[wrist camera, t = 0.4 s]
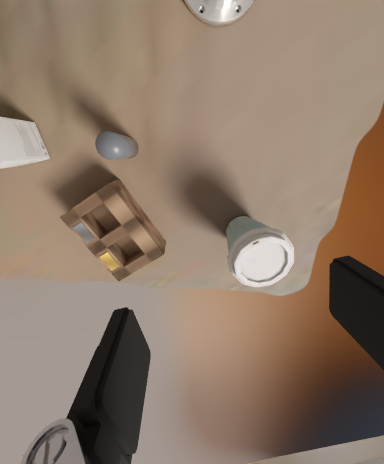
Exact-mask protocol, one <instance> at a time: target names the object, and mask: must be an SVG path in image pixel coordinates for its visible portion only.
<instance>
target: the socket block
mask: <svg viewBox="0 0 384 464" xmlns="http://www.w3.org/2000/svg"><path fill="white" fill-rule="evenodd" d="M60 218H61V219H62V220H63V221H64V222H65V224H66V225H67V226H68V227H69V228H70V229H71V230H72V231H73V232H74V233H75V234H76V235H77V237H78V238H79V239H80V240H81V241H82V242H83V243H84V244H85V245H86V246H87V247H88V249H89V250H90V251H91V252H92V253H93V254H94V255H95V256H96V257H97V258H98V259H99V260H100V262H101V263H102V264H103V265H104V266H105V267H106V268H107V269H108V270H109V271H110V272H111V273H112V275H113V276H114V277H115V278H116V279H117V280H118V281H120V280H122V279H123V278H125V277H127V276H128V275H130V274H132V273H133V272H135V271H137V270H138V269H140V268H142V267H144V266H145V265H147V264H149V263H150V262H152V261H154V260H155V259H157V258H159V257H160V256H162V255H164V251H165V245H166V241H165V240H164V238H163V237H162V236H161V234H160V233H159V232H158V230H157V229H156V228H155V226H154V225H153V224H152V222H151V221H150V220H149V218H148V217H147V216H146V214H145V213H144V212H143V210H142V209H141V207H140V206H139V205H138V203H137V202H136V201H135V199H134V198H133V197H132V195H131V194H130V193H129V191H128V190H127V189H126V187H125V186H124V185H123V183H122V182H121V181H120V179H117V180H115V181H113V182H110V183H108V184H107V185H106V186H104V187H103V188H101V189H100V190H98V191H97V192H95V193H94V194H92V195H91V196H90V197H88V198H87V199H85V200H84V201H82V202H81V203H79V204H78V205H76V206H75V207H74V208H72V209H71V210H69V211H68V212H66V213H65V214H63V215H62V216H61V217H60Z"/></svg>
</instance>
